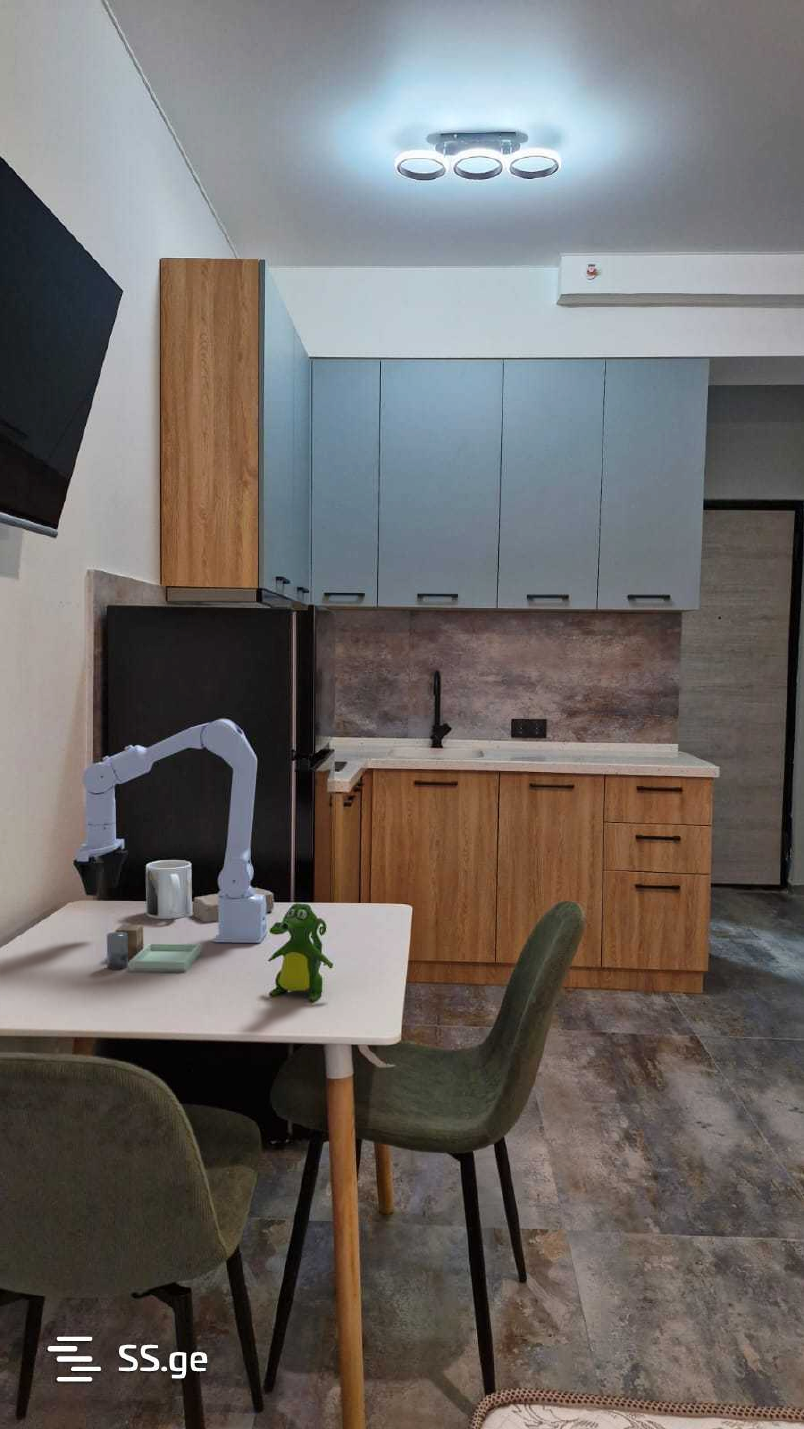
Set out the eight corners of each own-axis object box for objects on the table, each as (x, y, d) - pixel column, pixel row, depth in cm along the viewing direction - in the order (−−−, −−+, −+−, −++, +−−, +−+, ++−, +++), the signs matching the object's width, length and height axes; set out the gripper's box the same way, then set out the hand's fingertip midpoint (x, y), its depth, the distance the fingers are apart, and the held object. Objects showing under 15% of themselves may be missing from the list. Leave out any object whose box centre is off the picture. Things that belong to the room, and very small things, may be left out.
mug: (202, 909, 226) (201, 861, 226) (178, 923, 214) (177, 871, 214) (159, 907, 228) (158, 859, 228) (133, 920, 217) (132, 869, 216)
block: (143, 953, 192) (143, 924, 192) (136, 959, 188) (136, 930, 188) (122, 953, 192) (122, 924, 192) (115, 959, 188) (115, 930, 188)
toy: (242, 1006, 162) (241, 913, 161) (295, 972, 180) (295, 889, 179) (308, 1015, 158) (308, 920, 157) (355, 979, 176) (355, 894, 175)
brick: (206, 924, 215) (206, 902, 215) (190, 916, 222) (190, 895, 221) (275, 913, 224) (275, 893, 224) (258, 906, 231) (258, 886, 231)
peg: (130, 964, 185) (130, 932, 184) (124, 970, 181) (123, 937, 181) (111, 964, 185) (110, 931, 185) (104, 969, 181) (103, 937, 181)
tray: (201, 953, 192) (201, 943, 192) (184, 972, 180) (184, 962, 180) (149, 952, 192) (149, 943, 192) (129, 971, 180) (129, 961, 180)
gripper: (102, 817, 208) (103, 882, 208) (62, 827, 194) (63, 897, 194) (133, 818, 206) (133, 884, 207) (95, 829, 192) (96, 899, 193)
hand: (101, 890), depth 200 cm, fingers open, 7 cm apart
